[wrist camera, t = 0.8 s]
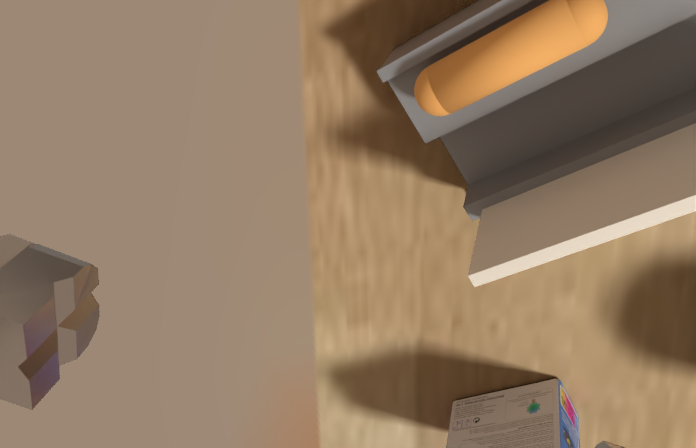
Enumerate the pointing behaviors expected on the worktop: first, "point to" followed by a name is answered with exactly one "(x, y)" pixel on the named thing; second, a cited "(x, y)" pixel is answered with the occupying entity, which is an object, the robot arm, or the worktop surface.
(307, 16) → the worktop surface
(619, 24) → the grooved grey base
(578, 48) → the orange capsule pill
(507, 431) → the ink cartridge box
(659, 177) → the cover
